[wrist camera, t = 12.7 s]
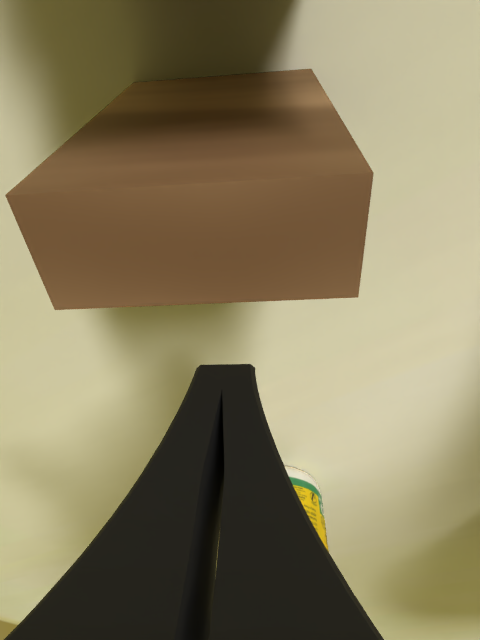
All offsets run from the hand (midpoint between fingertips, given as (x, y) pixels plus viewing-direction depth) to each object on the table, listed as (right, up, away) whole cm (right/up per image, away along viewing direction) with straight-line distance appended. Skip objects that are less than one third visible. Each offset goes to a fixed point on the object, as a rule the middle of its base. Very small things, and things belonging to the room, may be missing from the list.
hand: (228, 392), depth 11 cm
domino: (0, +8, +2) cm, 8 cm away
